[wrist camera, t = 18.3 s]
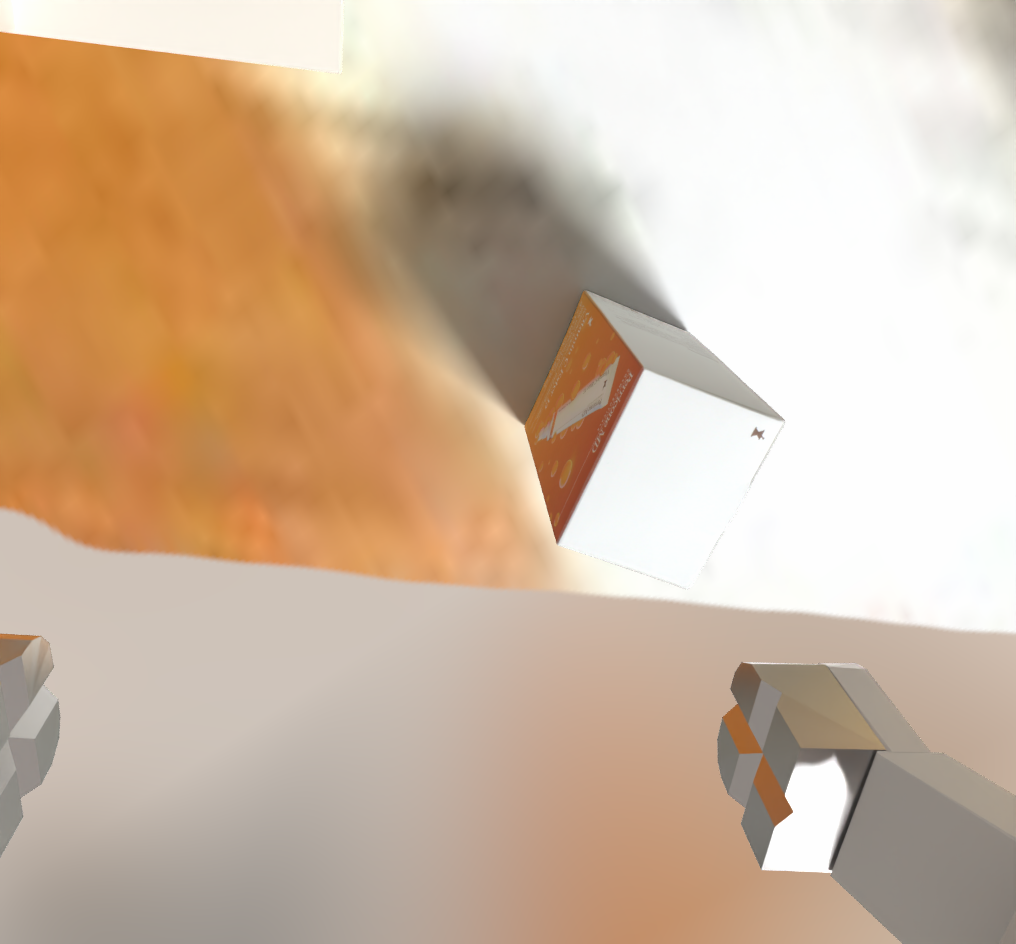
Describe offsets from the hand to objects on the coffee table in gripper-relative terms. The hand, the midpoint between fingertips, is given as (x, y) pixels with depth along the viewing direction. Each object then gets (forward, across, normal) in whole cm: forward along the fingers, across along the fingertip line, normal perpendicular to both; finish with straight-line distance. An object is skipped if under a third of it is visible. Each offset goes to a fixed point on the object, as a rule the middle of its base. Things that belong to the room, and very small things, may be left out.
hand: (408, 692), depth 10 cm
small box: (+33, -10, +6) cm, 35 cm away
